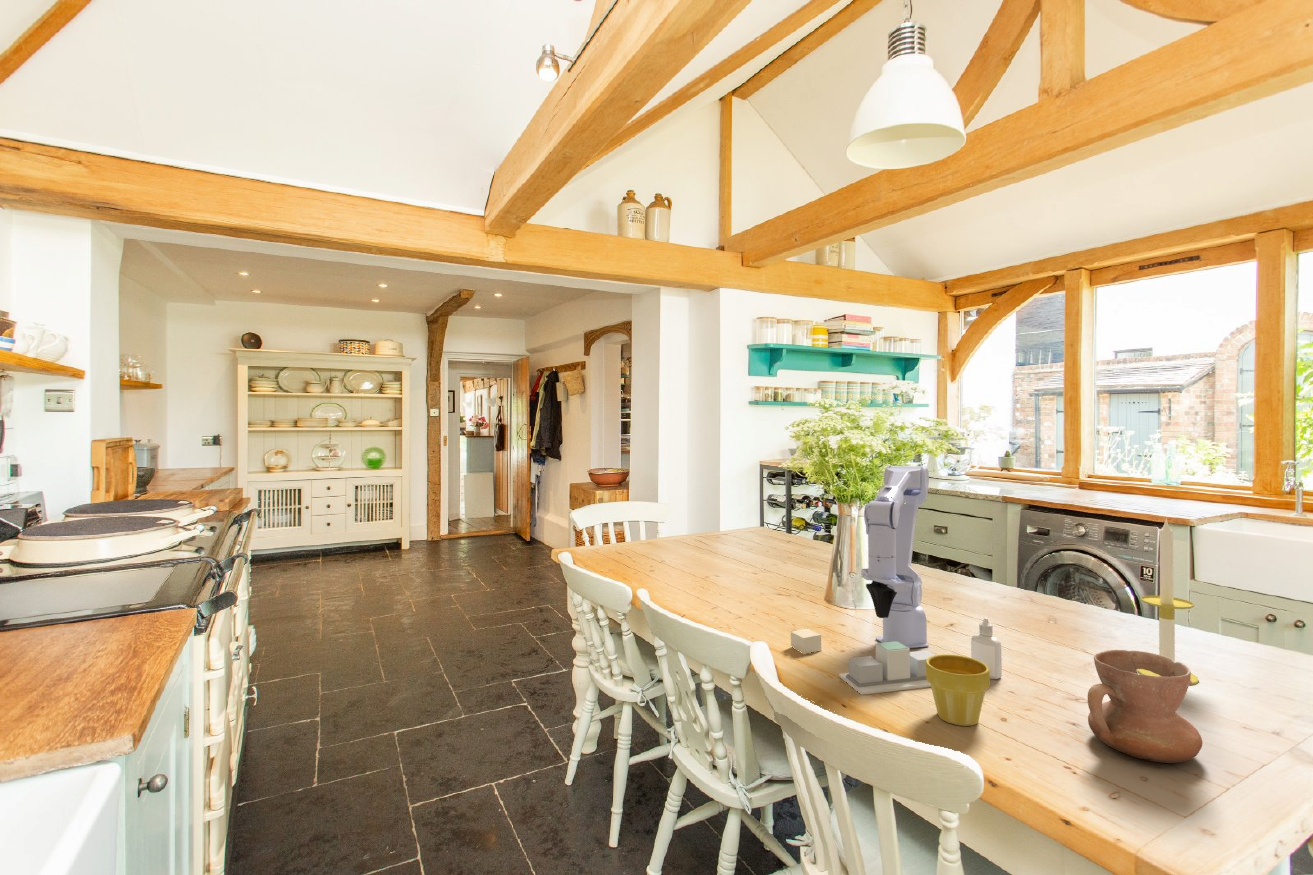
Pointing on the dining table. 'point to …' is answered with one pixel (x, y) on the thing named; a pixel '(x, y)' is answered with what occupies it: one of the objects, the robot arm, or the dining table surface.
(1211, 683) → the dining table surface
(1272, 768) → the dining table surface
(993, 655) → the eye dropper bottle
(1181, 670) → the ceramic jug
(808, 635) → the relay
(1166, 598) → the candle
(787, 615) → the dining table surface
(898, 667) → the block
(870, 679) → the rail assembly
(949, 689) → the plant pot
